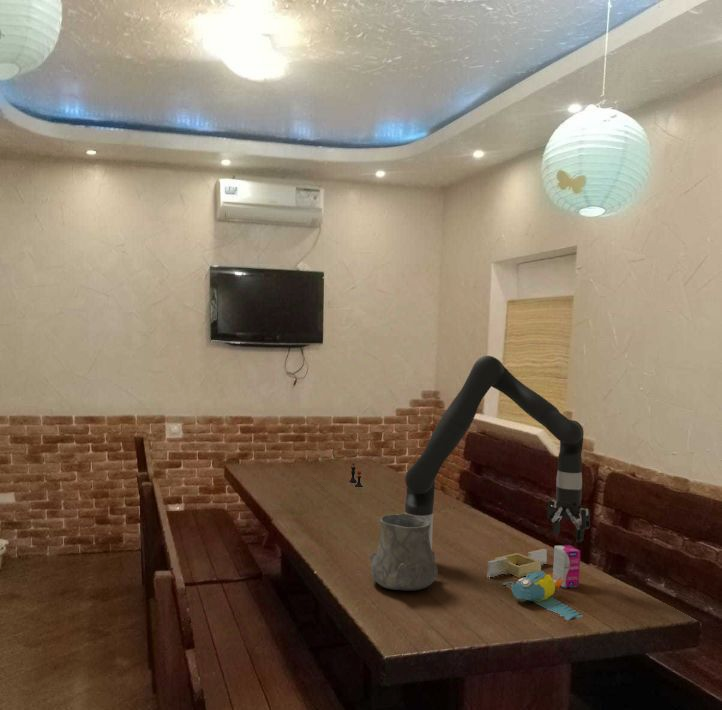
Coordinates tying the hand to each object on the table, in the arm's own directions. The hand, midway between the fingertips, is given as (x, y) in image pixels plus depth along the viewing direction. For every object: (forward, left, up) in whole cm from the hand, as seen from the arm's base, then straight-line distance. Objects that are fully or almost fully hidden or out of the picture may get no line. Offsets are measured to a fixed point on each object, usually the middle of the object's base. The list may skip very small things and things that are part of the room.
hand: (567, 537), depth 198 cm
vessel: (-45, +25, -15) cm, 54 cm away
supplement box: (0, 0, -15) cm, 15 cm away
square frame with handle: (-4, +16, -15) cm, 22 cm away
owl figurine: (-18, -4, -15) cm, 24 cm away
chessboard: (+19, +146, -15) cm, 148 cm away
